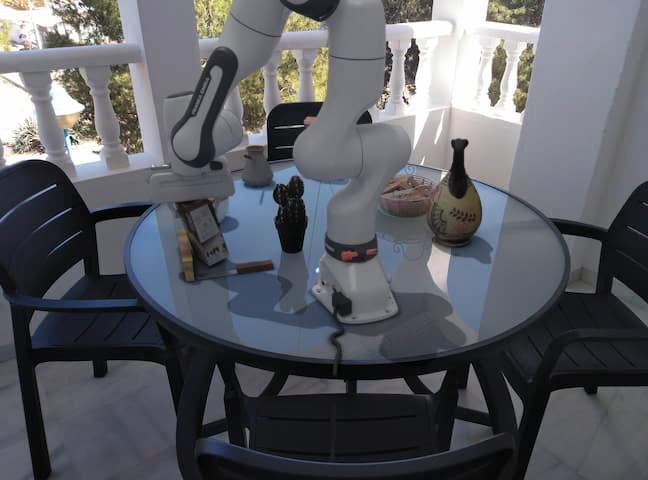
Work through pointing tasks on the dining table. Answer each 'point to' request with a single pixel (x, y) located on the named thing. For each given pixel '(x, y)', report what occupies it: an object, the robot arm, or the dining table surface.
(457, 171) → the ceramic jug
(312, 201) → the dining table surface
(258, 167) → the coffee pot
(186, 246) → the oak rail
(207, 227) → the coffee box
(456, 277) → the dining table surface
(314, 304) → the dining table surface
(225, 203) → the lidded bowl
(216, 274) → the table knife
